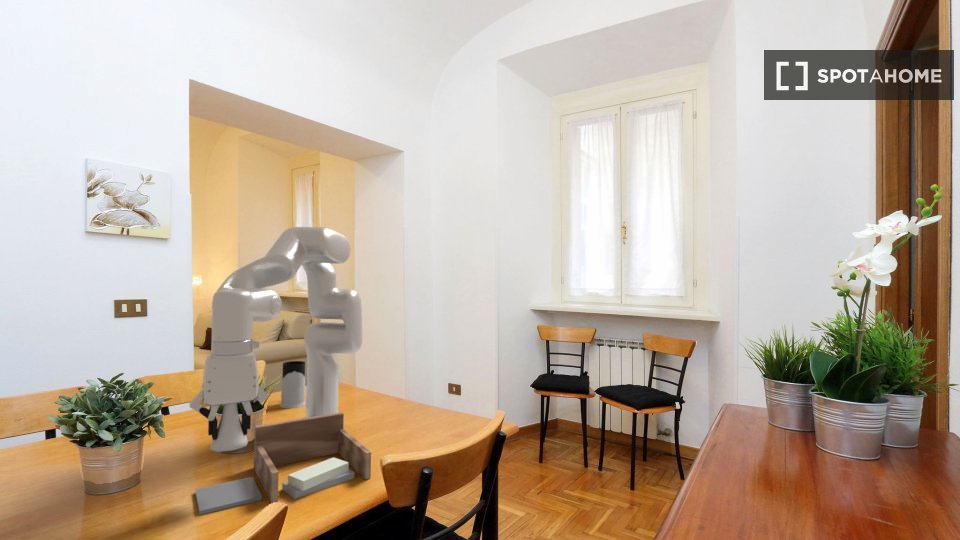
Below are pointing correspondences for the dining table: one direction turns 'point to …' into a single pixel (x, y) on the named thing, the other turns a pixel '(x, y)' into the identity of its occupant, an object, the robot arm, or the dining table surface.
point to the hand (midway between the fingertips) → (229, 434)
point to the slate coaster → (227, 495)
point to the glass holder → (293, 385)
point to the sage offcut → (318, 473)
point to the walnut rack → (304, 447)
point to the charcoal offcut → (298, 493)
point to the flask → (229, 431)
